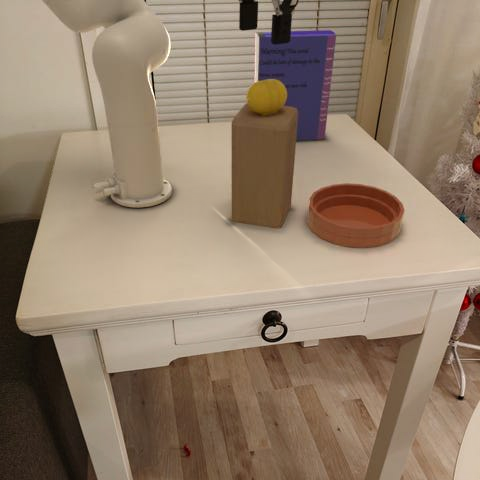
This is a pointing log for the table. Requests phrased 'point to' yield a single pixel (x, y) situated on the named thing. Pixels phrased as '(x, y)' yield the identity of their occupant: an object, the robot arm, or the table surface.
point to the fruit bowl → (355, 215)
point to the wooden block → (263, 165)
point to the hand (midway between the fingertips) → (263, 36)
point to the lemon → (266, 96)
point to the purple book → (300, 75)
